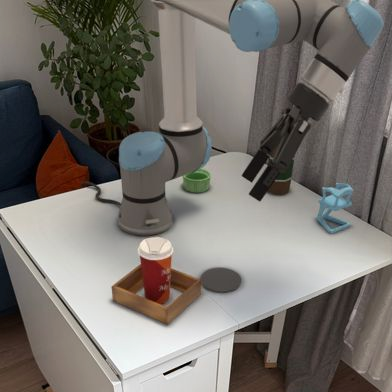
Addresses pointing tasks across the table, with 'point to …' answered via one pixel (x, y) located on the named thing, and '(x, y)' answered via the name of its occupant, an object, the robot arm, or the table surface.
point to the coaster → (221, 280)
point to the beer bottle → (281, 177)
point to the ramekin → (197, 181)
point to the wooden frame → (127, 296)
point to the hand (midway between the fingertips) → (250, 188)
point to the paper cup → (156, 268)
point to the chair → (334, 205)
